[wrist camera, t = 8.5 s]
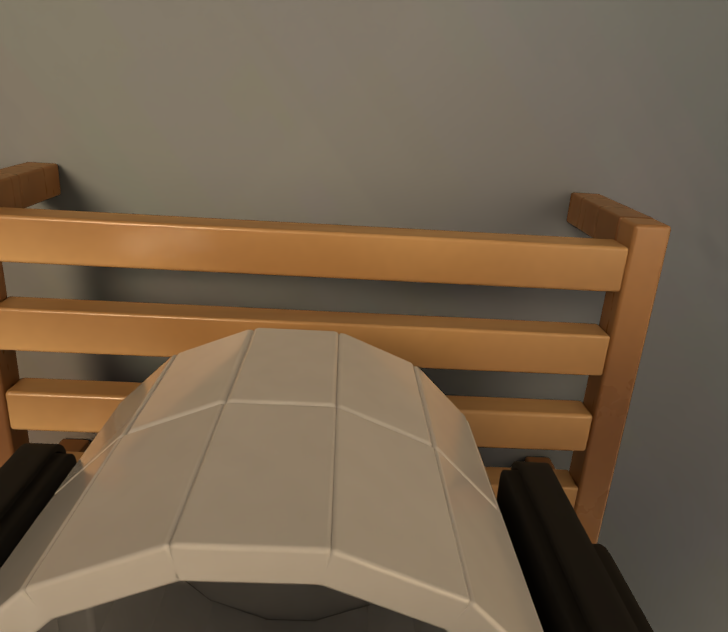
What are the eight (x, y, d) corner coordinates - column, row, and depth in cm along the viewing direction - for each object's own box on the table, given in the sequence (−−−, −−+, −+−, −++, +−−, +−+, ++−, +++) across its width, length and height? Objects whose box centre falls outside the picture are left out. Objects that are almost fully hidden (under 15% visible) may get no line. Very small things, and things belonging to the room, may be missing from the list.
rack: (26, 161, 16) (-430, 273, 7) (600, 193, 17) (926, 338, 7) (87, 632, 22) (-113, 1054, 12) (514, 643, 22) (635, 1051, 13)
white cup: (90, 306, 10) (-177, 535, 5) (502, 326, 10) (652, 560, 5) (122, 625, 12) (-38, 1004, 7) (457, 634, 13) (531, 1004, 8)
